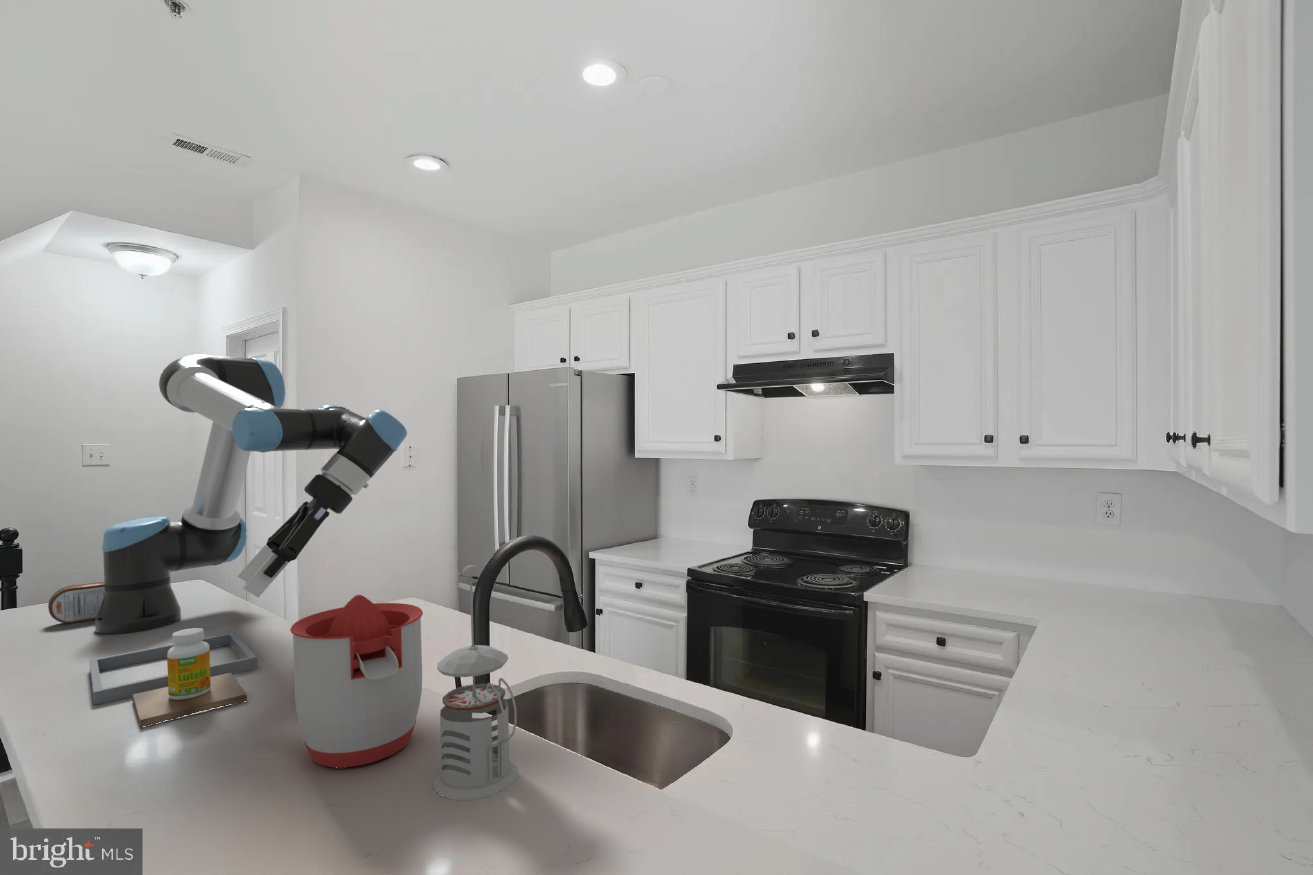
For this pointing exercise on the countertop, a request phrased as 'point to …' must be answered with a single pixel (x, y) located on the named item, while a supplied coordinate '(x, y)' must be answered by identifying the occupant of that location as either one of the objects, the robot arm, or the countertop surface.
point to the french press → (474, 724)
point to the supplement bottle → (188, 665)
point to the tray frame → (128, 689)
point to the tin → (77, 602)
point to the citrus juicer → (358, 680)
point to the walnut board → (186, 701)
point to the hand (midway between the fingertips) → (247, 586)
